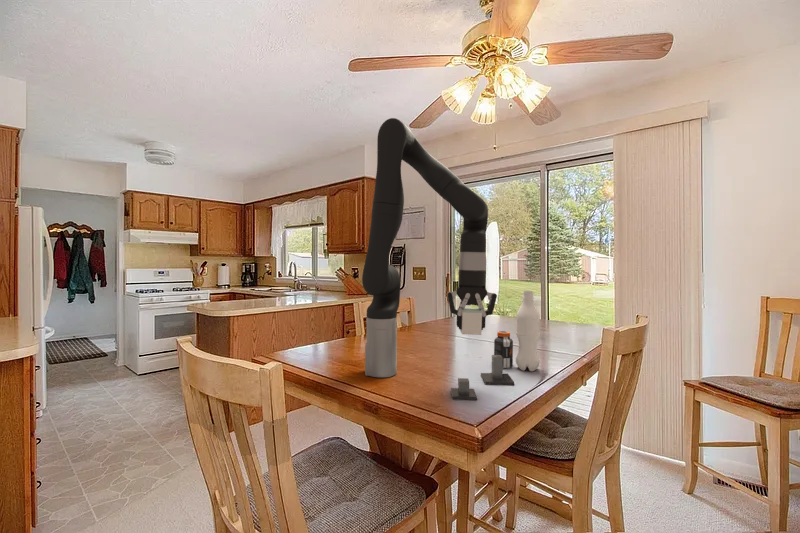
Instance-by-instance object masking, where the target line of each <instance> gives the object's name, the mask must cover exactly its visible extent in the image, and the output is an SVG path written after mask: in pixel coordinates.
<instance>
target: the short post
mask: <svg viewBox="0 0 800 533" xmlns="http://www.w3.org/2000/svg"><path fill="white" fill-rule="evenodd" d="M450 393H451V397H452V398H451V399H452V400H455V401H457V400H461V401H477V400H478V397H477V396H478V395H477V393H476V391H475V388H470V380H469V378H466V377H465V378H464V377H463V378H460V377H459V378H457V388H456V387H451V388H450Z"/></svg>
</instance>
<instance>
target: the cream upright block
mask: <svg viewBox="0 0 800 533" xmlns="http://www.w3.org/2000/svg"><path fill="white" fill-rule="evenodd" d="M459 331H460V333H461V335H468V336H469V335H475V336H482V331H483V330H482V310H479V309H478V307H465V309H464V310H462V329H459Z"/></svg>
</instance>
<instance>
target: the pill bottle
mask: <svg viewBox="0 0 800 533" xmlns="http://www.w3.org/2000/svg"><path fill="white" fill-rule="evenodd" d="M496 336H497V337H495V338H494V340H493V341H494V342H493V344H494V345H493V355H501V356H502V357H503V369H510V368H513V365H514V364H513V363H514V362H513V361H514V360H513V358H514V356H513V355H514V340H513V339H512V338H511V332H509V331H505V330H499V331H497V334H496Z"/></svg>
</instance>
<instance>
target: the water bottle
mask: <svg viewBox="0 0 800 533" xmlns="http://www.w3.org/2000/svg"><path fill="white" fill-rule="evenodd" d="M522 293H523V295H522V303H521V305H520V306H519V309H518V310H517V311H516V312H517V313H516V314H515V315H516V316H515V317H516V332H515V334H516V337H517V341H518V352H517V355H516V358H515V362H516V366H517V367H518V368H519V370H520V371H525V370H526V369H528V371H529V372H535V371H536V370H538V368H539V366H540V361H541V360H540V357H539V355H538V349H537V348H538V342H539V339H540V337H541V333H540V324H541V323H540V321H541V315H540V312H539V310H538V308H537V307H536V305H535V304H536V303H535V302H534V299H535V297H534V290H523V291H522Z"/></svg>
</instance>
